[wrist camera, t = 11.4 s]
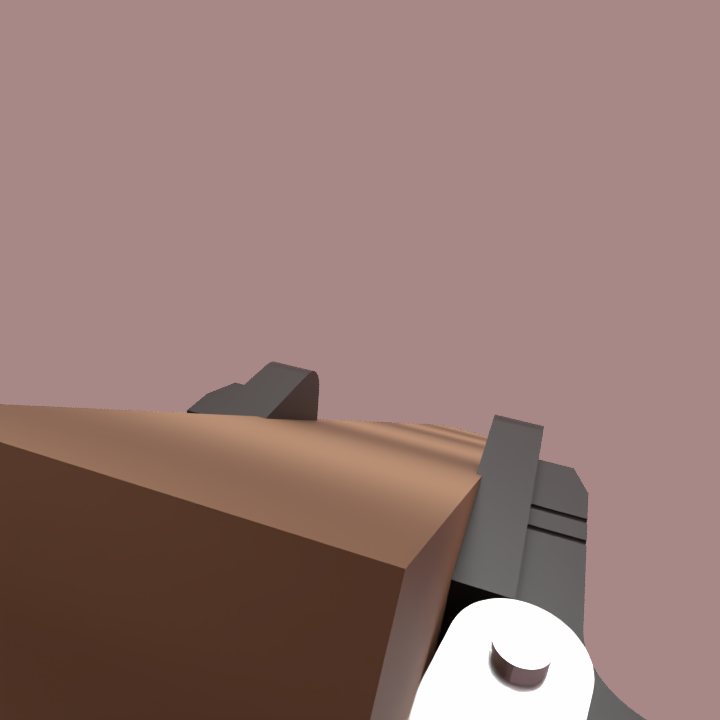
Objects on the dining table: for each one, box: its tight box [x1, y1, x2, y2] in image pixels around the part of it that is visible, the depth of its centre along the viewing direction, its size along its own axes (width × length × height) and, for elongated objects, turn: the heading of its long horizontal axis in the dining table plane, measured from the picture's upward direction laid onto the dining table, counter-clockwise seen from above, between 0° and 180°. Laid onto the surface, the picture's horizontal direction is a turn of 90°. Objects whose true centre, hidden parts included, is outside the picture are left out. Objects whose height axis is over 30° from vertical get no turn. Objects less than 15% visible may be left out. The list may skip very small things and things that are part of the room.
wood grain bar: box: [0, 404, 488, 720], centre depth 15 cm, size 26×3×3 cm, turn 165°
